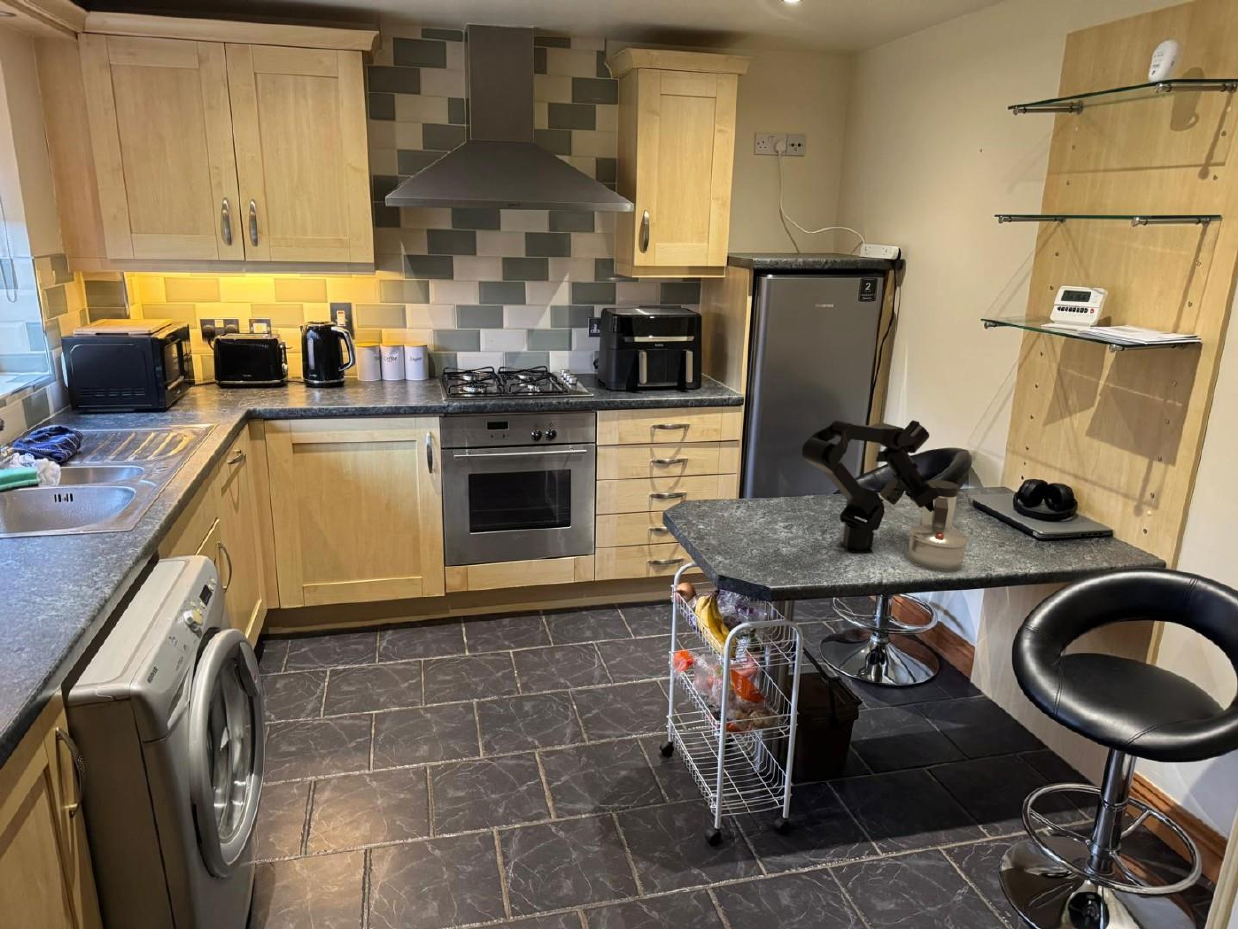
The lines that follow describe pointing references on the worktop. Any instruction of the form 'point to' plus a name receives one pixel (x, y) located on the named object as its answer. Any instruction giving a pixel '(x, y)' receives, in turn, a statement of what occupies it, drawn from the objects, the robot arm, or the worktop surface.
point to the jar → (947, 491)
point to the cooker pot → (935, 556)
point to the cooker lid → (939, 529)
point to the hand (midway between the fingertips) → (931, 510)
